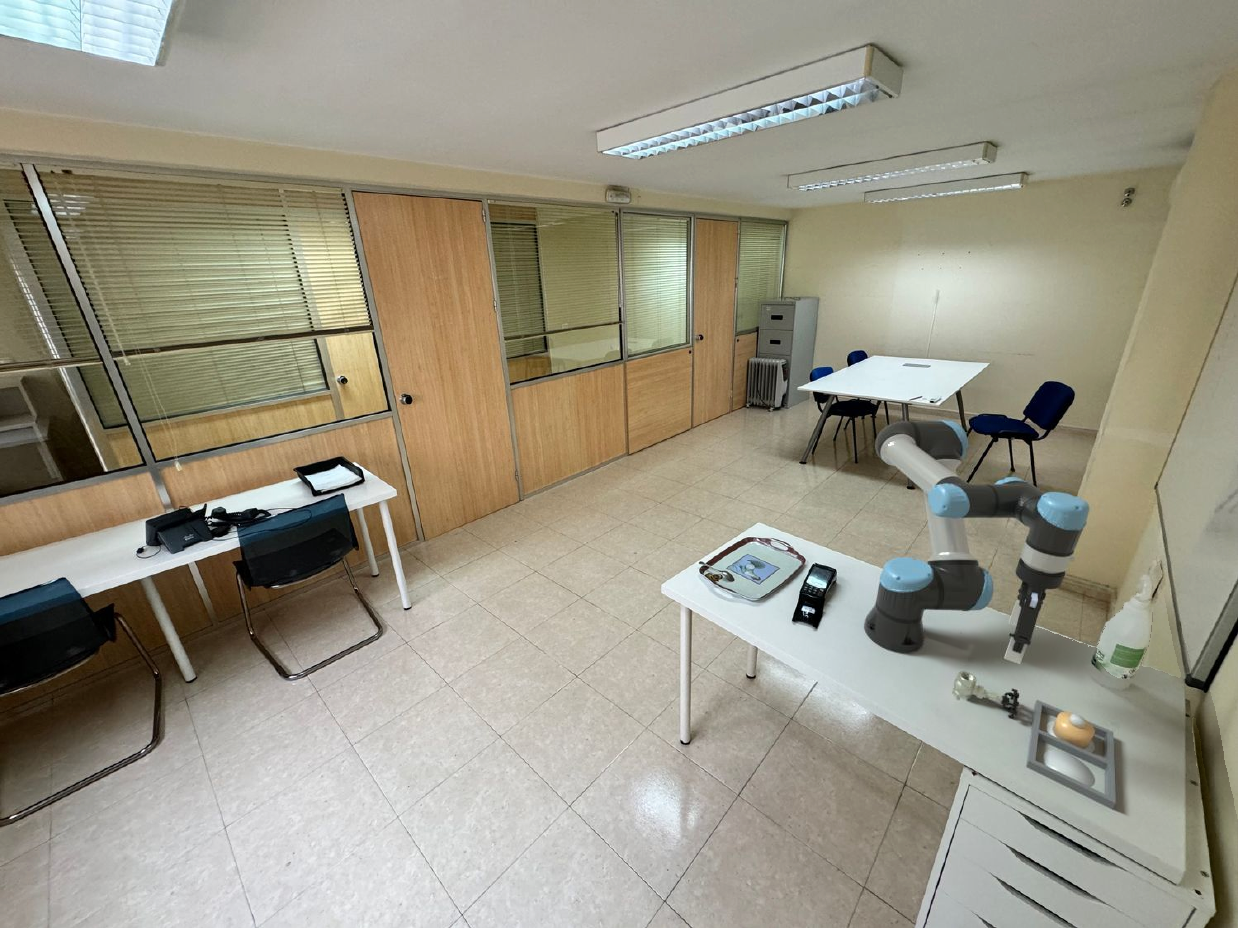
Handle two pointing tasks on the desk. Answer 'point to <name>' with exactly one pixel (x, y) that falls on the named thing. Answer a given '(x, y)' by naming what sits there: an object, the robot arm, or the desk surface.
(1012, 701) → the valve
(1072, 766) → the grey divided tray
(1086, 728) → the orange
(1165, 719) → the desk surface
